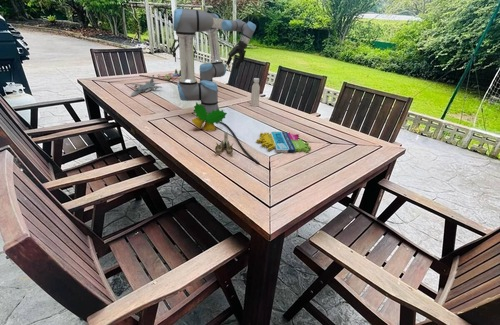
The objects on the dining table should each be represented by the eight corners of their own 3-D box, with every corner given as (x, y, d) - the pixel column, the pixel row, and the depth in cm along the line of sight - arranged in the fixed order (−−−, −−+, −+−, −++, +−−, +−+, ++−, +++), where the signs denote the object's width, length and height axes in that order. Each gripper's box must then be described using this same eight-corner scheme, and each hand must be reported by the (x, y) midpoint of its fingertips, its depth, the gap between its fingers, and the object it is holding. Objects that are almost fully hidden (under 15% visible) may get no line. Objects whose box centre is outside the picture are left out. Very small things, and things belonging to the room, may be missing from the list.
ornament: (218, 133, 171) (224, 110, 169) (221, 134, 163) (227, 111, 161) (186, 125, 162) (192, 101, 160) (189, 126, 155) (195, 101, 153)
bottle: (249, 104, 216) (250, 78, 206) (256, 103, 219) (258, 78, 208) (252, 106, 211) (254, 80, 201) (259, 105, 214) (262, 80, 203)
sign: (313, 150, 142) (258, 149, 139) (312, 153, 143) (258, 152, 140) (301, 132, 164) (254, 130, 161) (301, 134, 165) (254, 133, 162)
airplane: (124, 86, 239) (122, 75, 233) (160, 84, 252) (158, 73, 247) (129, 98, 210) (126, 86, 205) (168, 95, 223) (167, 83, 218)
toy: (190, 70, 289) (177, 74, 263) (190, 77, 293) (178, 82, 267) (167, 67, 294) (152, 71, 268) (168, 74, 298) (153, 79, 272)
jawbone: (234, 135, 144) (233, 125, 135) (233, 160, 138) (232, 151, 129) (217, 135, 144) (216, 125, 135) (216, 160, 138) (214, 150, 129)
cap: (252, 81, 206) (252, 78, 205) (257, 80, 208) (257, 78, 207) (254, 82, 203) (255, 79, 202) (260, 82, 205) (260, 79, 204)
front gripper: (198, 33, 207) (199, 61, 218) (165, 31, 201) (168, 60, 211) (199, 33, 201) (200, 62, 211) (165, 32, 194) (168, 62, 205)
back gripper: (238, 38, 198) (226, 65, 206) (254, 48, 220) (242, 72, 227) (231, 34, 201) (220, 60, 208) (247, 45, 223) (236, 68, 230)
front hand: (184, 61), depth 211 cm, fingers open, 13 cm apart
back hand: (231, 66), depth 218 cm, fingers open, 13 cm apart
